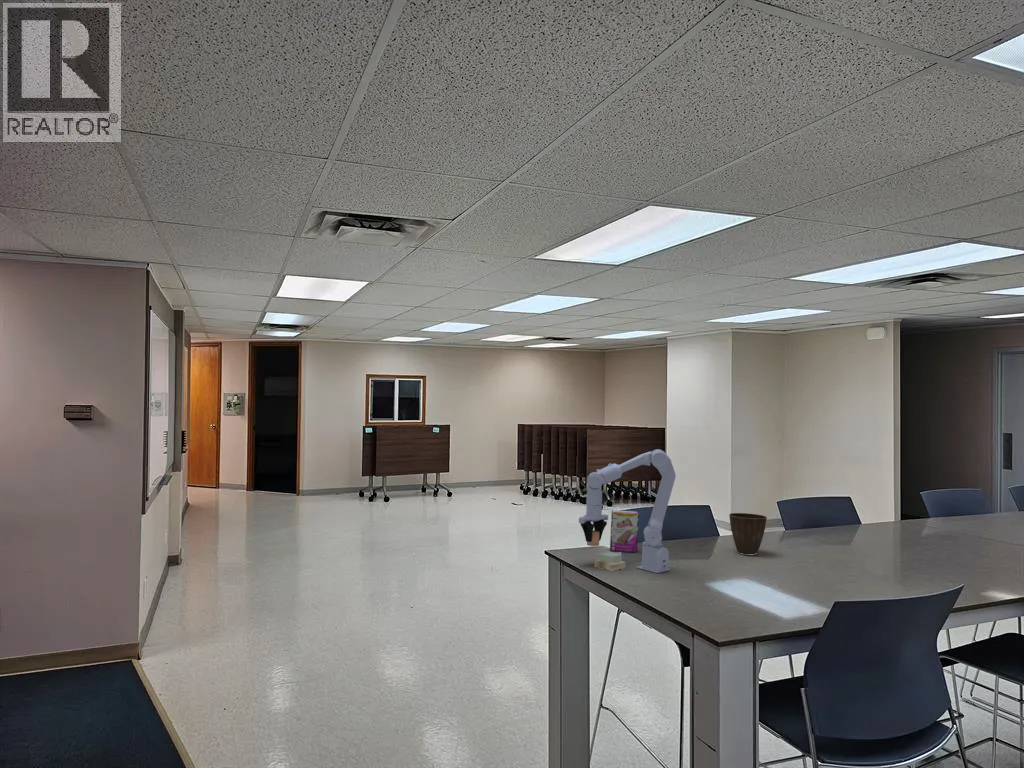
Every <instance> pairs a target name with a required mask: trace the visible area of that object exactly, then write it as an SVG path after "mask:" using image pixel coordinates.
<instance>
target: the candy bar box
mask: <svg viewBox="0 0 1024 768" xmlns="http://www.w3.org/2000/svg"><path fill="white" fill-rule="evenodd" d="M610 515H611V516H610V536H609V537H610V538H609V539H610V540H609V552H617V553H618V552H619V553H632V552H633V554H634V553H637V554H638V542H639V541H638V540H639V539H638V538H639V537H638V536H639V515H640V514H639V512H638V511H631V510H630V511H629V510H618V509H617V510H615V509H614V510H613V509H611V514H610Z"/></svg>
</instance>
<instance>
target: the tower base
mask: <svg viewBox="0 0 1024 768" xmlns="http://www.w3.org/2000/svg"><path fill="white" fill-rule="evenodd" d="M595 566H596V567H599V568H598V569H600V568H603V569H606V570H605V571H607V570H609V571H608V572H611V571H612V572H615V571H614V570H617V571H620V570H619V569H622V570H625V569H626V566H627V565H626V561H623V560H622V562H617V563H613V564H610V563H606V562H603V561H599V559H595V560H594V567H595ZM596 567H595V568H596ZM603 569H602V570H603Z"/></svg>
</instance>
